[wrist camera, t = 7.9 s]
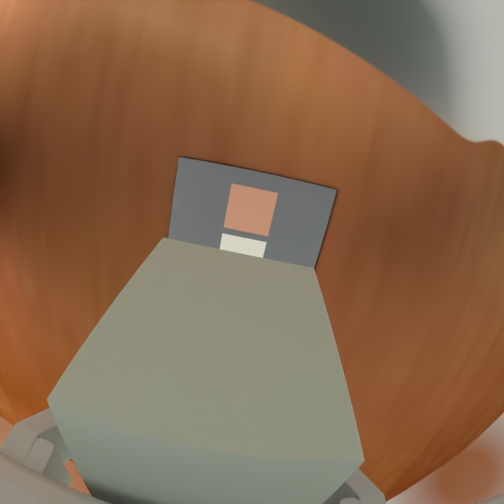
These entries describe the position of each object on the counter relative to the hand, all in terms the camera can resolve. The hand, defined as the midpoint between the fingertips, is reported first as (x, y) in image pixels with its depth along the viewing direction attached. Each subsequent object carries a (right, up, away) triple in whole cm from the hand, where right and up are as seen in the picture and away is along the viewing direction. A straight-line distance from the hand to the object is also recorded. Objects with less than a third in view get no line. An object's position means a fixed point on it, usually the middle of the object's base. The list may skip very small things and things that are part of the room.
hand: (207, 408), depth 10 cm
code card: (+1, +7, +16) cm, 17 cm away
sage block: (0, +1, +2) cm, 3 cm away
